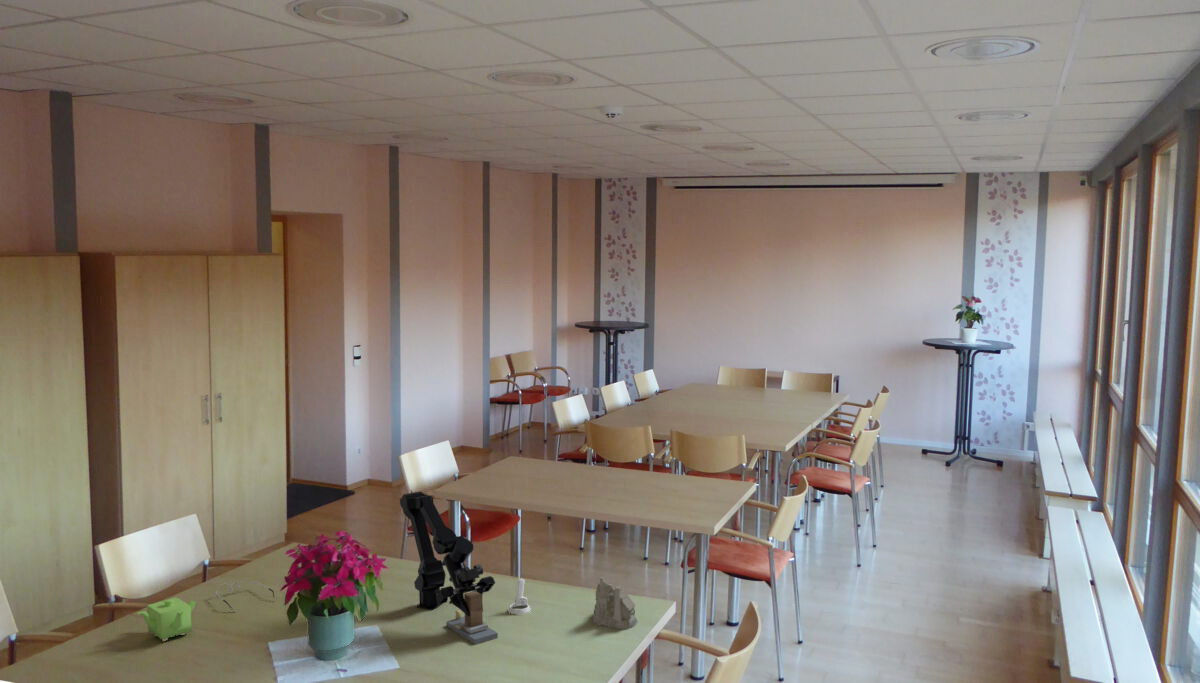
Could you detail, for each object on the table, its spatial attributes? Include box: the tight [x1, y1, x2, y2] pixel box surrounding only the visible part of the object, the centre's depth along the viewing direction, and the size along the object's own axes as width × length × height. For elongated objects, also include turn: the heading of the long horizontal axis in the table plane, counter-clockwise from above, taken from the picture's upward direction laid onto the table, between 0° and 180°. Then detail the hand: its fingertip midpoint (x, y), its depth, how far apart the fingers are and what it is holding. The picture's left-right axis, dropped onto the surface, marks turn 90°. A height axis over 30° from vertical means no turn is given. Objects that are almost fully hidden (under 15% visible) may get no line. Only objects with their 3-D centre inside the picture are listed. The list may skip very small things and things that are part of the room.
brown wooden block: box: [460, 591, 489, 633], centre depth 286 cm, size 7×6×11 cm
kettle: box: [136, 597, 197, 640], centre depth 286 cm, size 15×14×11 cm
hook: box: [507, 578, 532, 615], centre depth 306 cm, size 8×12×7 cm
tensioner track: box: [445, 609, 499, 645], centre depth 287 cm, size 18×8×4 cm, turn 38°
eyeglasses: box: [214, 577, 275, 609], centre depth 316 cm, size 16×19×5 cm
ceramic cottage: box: [592, 576, 639, 630], centre depth 297 cm, size 16×16×15 cm
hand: (475, 614), depth 284 cm, fingers closed on brown wooden block, 4 cm apart
